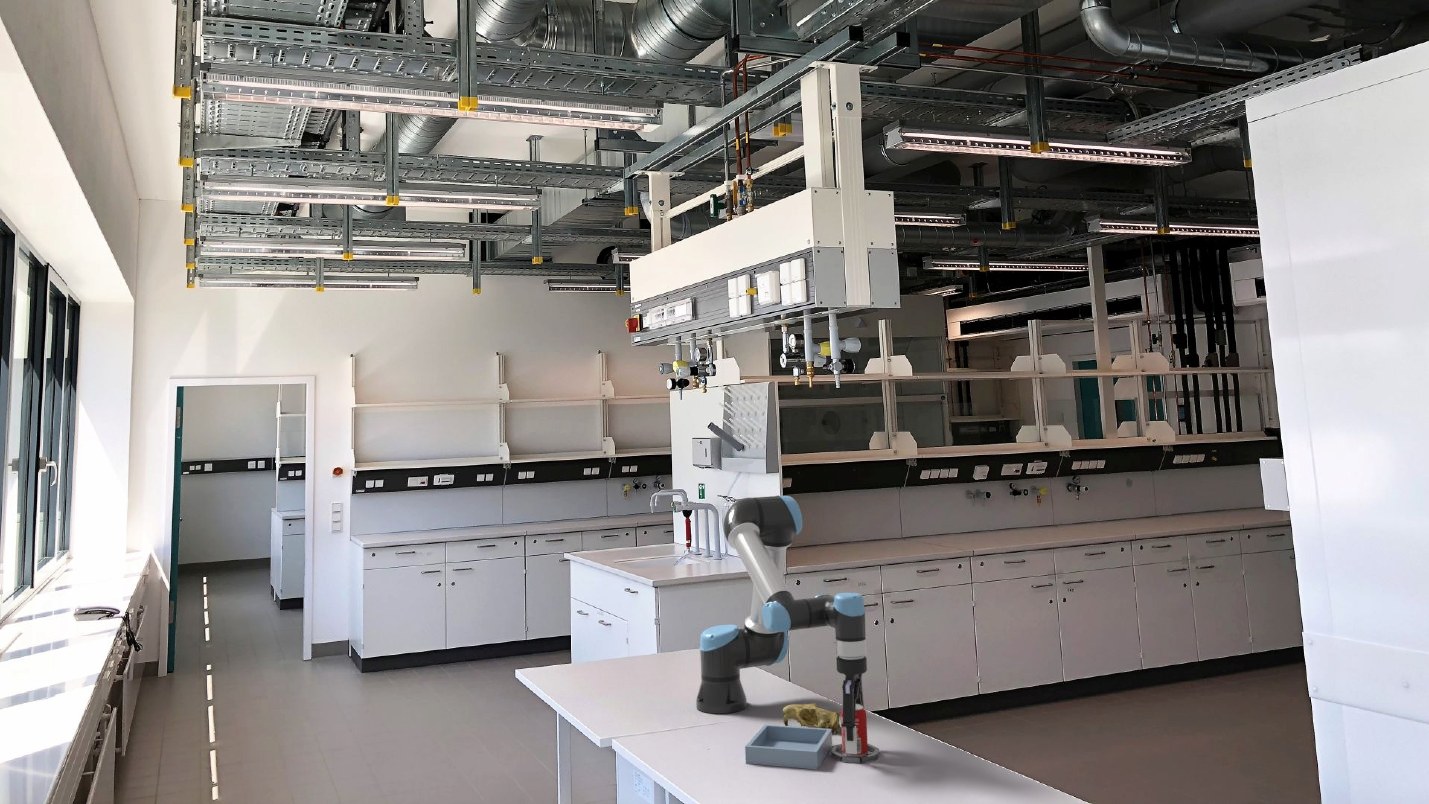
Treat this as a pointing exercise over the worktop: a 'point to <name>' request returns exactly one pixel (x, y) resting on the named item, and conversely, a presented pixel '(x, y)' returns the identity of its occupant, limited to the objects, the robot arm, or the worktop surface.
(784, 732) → the bin
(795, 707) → the animal skull
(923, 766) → the worktop surface
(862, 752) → the beverage can
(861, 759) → the ring
